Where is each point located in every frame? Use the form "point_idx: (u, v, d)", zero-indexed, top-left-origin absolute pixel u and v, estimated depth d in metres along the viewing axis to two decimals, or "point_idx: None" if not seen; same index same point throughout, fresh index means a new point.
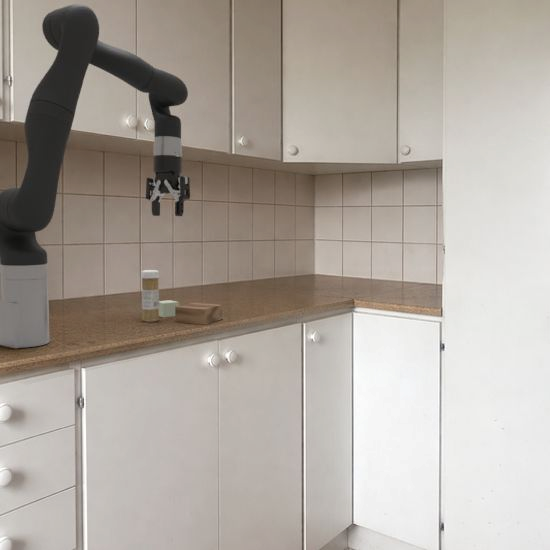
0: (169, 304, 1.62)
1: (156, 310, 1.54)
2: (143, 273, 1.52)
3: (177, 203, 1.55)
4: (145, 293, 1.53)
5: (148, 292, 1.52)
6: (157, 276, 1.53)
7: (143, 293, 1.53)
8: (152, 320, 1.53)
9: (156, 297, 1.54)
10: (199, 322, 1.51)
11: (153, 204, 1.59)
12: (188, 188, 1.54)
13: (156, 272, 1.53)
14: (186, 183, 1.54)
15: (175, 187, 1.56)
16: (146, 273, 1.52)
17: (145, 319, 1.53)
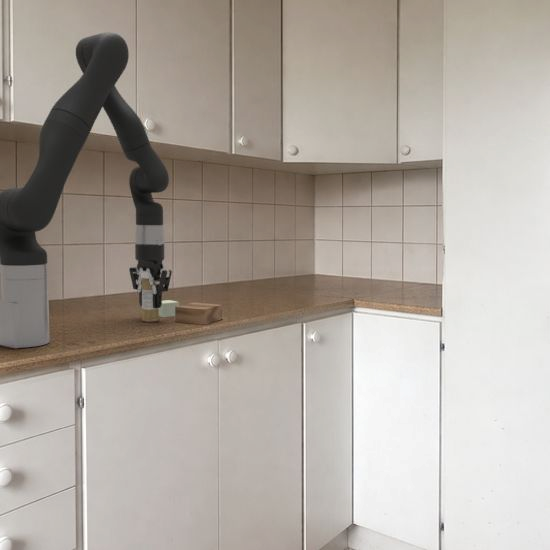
0: (169, 304, 1.62)
1: (156, 310, 1.54)
2: (143, 273, 1.52)
3: (155, 295, 1.52)
4: (145, 293, 1.53)
5: (148, 292, 1.52)
6: None
7: (143, 293, 1.53)
8: (152, 320, 1.53)
9: None
10: (199, 322, 1.51)
11: (140, 295, 1.55)
12: (168, 282, 1.51)
13: None
14: (167, 277, 1.51)
15: None
16: (146, 273, 1.52)
17: (145, 319, 1.53)
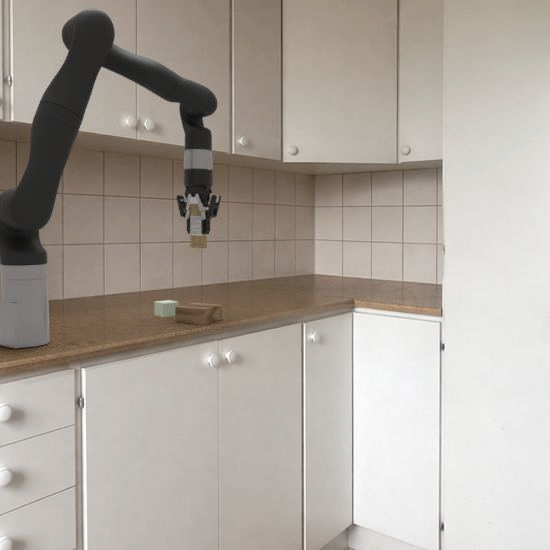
0: (169, 304, 1.62)
1: (204, 237, 1.53)
2: (192, 199, 1.51)
3: (204, 221, 1.51)
4: (194, 219, 1.52)
5: (197, 217, 1.51)
6: None
7: (192, 219, 1.52)
8: (201, 246, 1.52)
9: None
10: (199, 322, 1.51)
11: (188, 222, 1.54)
12: (217, 207, 1.51)
13: None
14: (216, 202, 1.50)
15: None
16: (195, 198, 1.51)
17: (194, 245, 1.52)
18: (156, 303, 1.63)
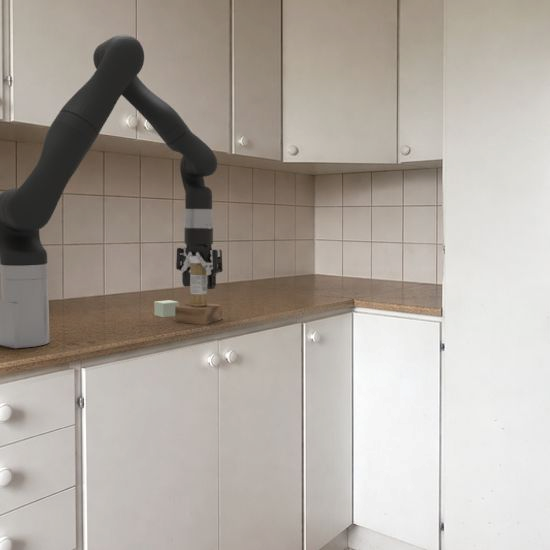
0: (169, 304, 1.62)
1: (204, 295, 1.55)
2: (192, 258, 1.53)
3: (209, 276, 1.52)
4: (194, 278, 1.53)
5: (197, 277, 1.53)
6: None
7: (192, 278, 1.54)
8: (201, 305, 1.54)
9: (205, 282, 1.54)
10: (199, 322, 1.51)
11: (184, 275, 1.57)
12: (220, 261, 1.51)
13: None
14: (218, 256, 1.51)
15: (207, 259, 1.53)
16: (195, 258, 1.52)
17: (194, 304, 1.54)
18: (156, 303, 1.63)
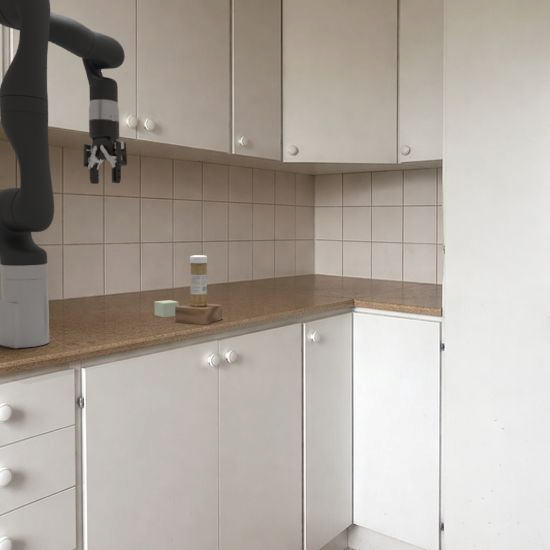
0: (169, 304, 1.62)
1: (204, 295, 1.55)
2: (192, 258, 1.53)
3: (114, 169, 1.49)
4: (194, 278, 1.53)
5: (197, 277, 1.53)
6: (206, 261, 1.54)
7: (192, 278, 1.54)
8: (201, 305, 1.54)
9: (205, 282, 1.54)
10: (199, 322, 1.51)
11: (91, 171, 1.54)
12: (125, 153, 1.48)
13: (205, 257, 1.53)
14: (122, 148, 1.48)
15: (112, 153, 1.50)
16: (195, 258, 1.52)
17: (194, 304, 1.54)
18: (156, 303, 1.63)
